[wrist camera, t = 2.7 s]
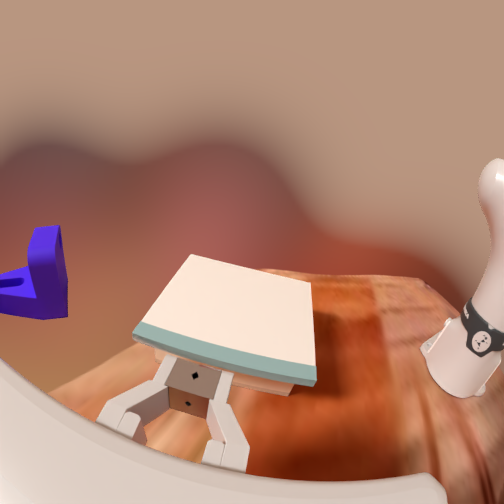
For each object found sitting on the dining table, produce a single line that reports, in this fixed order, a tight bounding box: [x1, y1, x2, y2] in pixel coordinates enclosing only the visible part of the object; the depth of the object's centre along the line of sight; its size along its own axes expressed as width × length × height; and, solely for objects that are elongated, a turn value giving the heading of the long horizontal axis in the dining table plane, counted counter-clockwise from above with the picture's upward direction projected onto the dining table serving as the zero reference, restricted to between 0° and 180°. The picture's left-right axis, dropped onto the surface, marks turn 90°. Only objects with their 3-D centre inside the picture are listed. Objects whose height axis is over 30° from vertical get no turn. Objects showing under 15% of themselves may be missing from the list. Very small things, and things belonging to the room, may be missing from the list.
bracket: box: [0, 225, 68, 320], centre depth 31 cm, size 18×11×12 cm, turn 122°
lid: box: [132, 254, 317, 387], centre depth 33 cm, size 19×19×1 cm
